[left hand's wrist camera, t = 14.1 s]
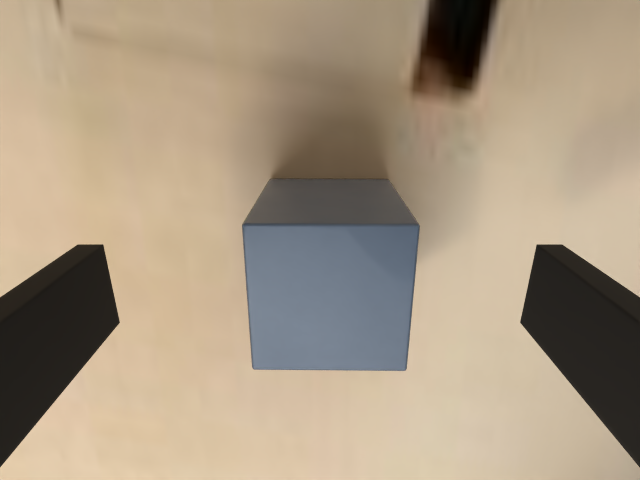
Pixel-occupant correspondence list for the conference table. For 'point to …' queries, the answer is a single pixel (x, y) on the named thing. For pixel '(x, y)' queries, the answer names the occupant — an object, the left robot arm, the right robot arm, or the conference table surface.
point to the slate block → (330, 275)
